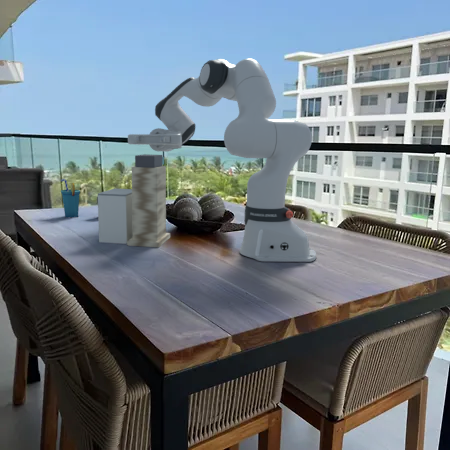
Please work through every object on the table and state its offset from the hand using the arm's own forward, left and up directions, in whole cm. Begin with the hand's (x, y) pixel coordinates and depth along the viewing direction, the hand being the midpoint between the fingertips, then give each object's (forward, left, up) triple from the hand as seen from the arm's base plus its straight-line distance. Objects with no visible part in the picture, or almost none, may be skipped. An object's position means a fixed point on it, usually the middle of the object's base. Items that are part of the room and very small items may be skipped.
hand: (149, 138), depth 163 cm
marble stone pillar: (-7, +23, -32) cm, 40 cm away
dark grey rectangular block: (-7, +19, -8) cm, 22 cm away
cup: (+37, -12, -32) cm, 51 cm away
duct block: (+4, +21, -32) cm, 39 cm away
